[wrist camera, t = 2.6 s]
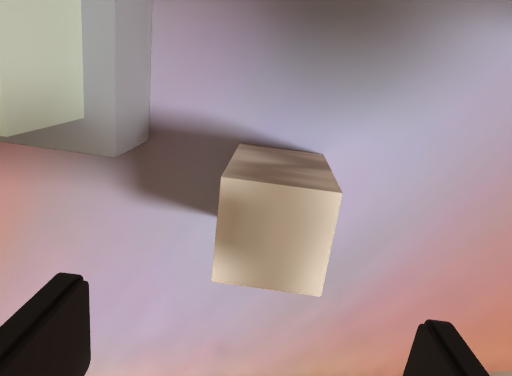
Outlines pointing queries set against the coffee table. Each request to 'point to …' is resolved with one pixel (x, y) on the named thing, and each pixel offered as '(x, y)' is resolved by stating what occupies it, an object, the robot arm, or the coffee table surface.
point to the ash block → (275, 220)
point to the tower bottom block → (107, 83)
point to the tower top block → (40, 64)
